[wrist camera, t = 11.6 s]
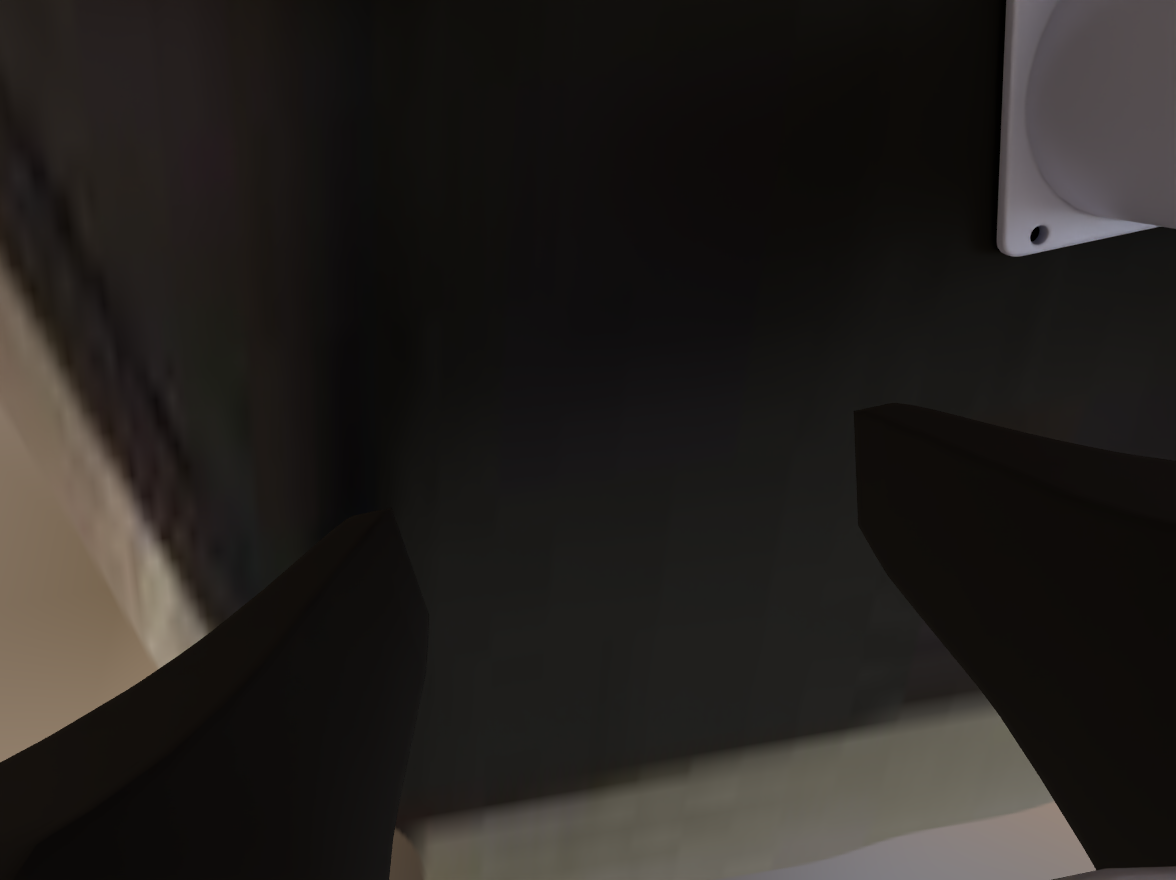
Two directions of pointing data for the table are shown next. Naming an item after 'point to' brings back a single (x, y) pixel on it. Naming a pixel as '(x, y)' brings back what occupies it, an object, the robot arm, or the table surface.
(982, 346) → the table surface
